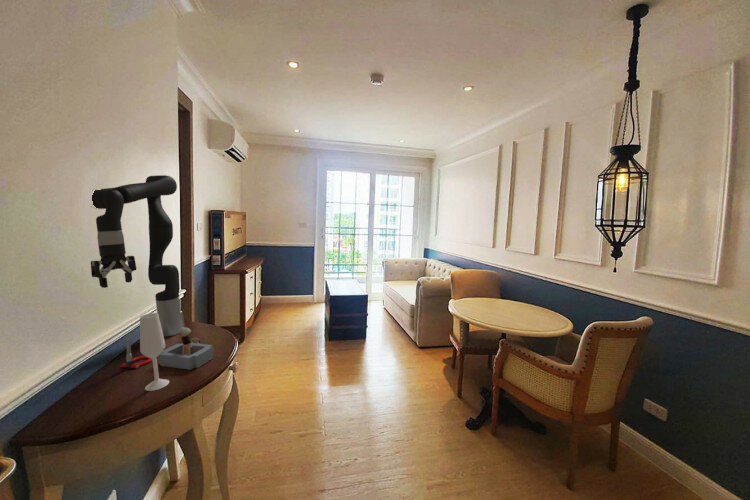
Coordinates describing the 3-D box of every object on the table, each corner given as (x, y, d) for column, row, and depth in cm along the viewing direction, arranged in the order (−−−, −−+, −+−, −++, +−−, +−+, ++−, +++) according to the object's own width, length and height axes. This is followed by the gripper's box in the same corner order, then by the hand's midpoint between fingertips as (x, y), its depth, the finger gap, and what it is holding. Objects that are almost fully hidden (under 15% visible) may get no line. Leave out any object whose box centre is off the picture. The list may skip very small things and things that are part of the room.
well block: (182, 352, 125) (181, 341, 124) (216, 356, 120) (215, 345, 120) (157, 365, 114) (156, 353, 114) (193, 370, 110) (192, 358, 109)
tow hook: (141, 357, 122) (118, 368, 113) (138, 326, 121) (115, 334, 112) (159, 358, 120) (137, 369, 111) (157, 327, 120) (135, 335, 110)
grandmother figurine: (177, 358, 118) (173, 327, 116) (187, 354, 121) (184, 324, 120) (188, 363, 114) (184, 331, 113) (198, 358, 117) (195, 327, 116)
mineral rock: (182, 338, 133) (201, 332, 135) (186, 347, 134) (205, 340, 136) (172, 350, 123) (192, 342, 124) (176, 359, 124) (196, 352, 125)
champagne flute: (139, 390, 98) (130, 318, 95) (157, 378, 104) (149, 311, 101) (157, 391, 97) (149, 319, 94) (174, 379, 103) (166, 312, 100)
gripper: (123, 241, 122) (128, 280, 124) (82, 245, 108) (88, 289, 110) (138, 241, 120) (142, 281, 122) (97, 245, 107) (103, 289, 109)
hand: (117, 284), depth 116 cm, fingers open, 8 cm apart
